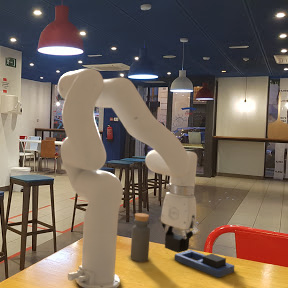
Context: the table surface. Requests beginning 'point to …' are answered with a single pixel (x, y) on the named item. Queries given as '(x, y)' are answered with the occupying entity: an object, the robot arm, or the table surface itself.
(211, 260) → the pad
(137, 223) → the bottle
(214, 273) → the frame
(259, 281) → the table surface
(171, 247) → the pad
